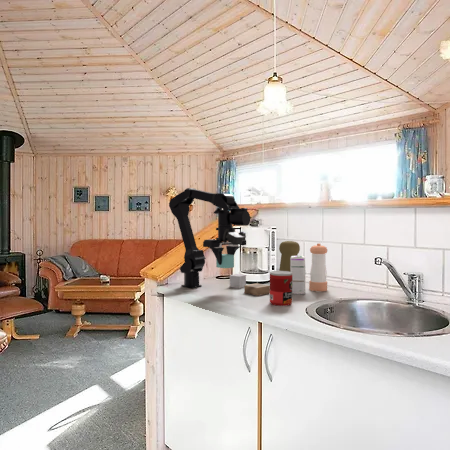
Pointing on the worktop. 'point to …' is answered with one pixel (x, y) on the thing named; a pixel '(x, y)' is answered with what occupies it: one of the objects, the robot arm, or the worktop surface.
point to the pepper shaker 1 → (287, 254)
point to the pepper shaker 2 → (318, 269)
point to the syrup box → (298, 274)
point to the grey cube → (237, 280)
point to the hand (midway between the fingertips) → (225, 264)
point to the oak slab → (256, 289)
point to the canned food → (281, 288)
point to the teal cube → (226, 261)
